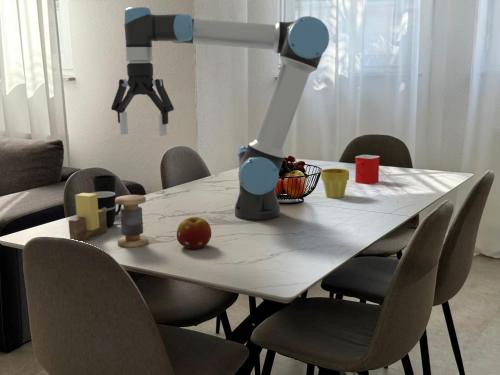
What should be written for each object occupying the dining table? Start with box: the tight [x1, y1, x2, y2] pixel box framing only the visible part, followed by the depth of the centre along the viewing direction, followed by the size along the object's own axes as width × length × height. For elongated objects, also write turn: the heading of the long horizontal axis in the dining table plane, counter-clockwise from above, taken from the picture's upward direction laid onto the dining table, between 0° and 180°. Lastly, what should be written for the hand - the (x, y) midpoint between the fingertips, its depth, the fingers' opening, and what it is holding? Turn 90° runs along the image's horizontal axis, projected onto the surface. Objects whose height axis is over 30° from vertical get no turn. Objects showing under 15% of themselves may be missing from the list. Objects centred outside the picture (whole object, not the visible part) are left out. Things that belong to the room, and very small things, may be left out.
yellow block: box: [74, 192, 99, 230], centre depth 175 cm, size 5×4×10 cm
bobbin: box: [115, 194, 149, 249], centre depth 169 cm, size 8×8×13 cm
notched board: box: [68, 209, 108, 243], centre depth 176 cm, size 2×14×7 cm, turn 157°
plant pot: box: [320, 167, 350, 199], centre depth 225 cm, size 10×10×10 cm
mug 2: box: [354, 154, 380, 185], centre depth 249 cm, size 12×8×11 cm
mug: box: [91, 191, 122, 229], centre depth 189 cm, size 12×9×10 cm
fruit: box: [176, 216, 212, 250], centre depth 166 cm, size 10×9×8 cm
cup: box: [92, 174, 117, 194], centre depth 207 cm, size 8×8×12 cm
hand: (143, 134), depth 181 cm, fingers open, 13 cm apart
